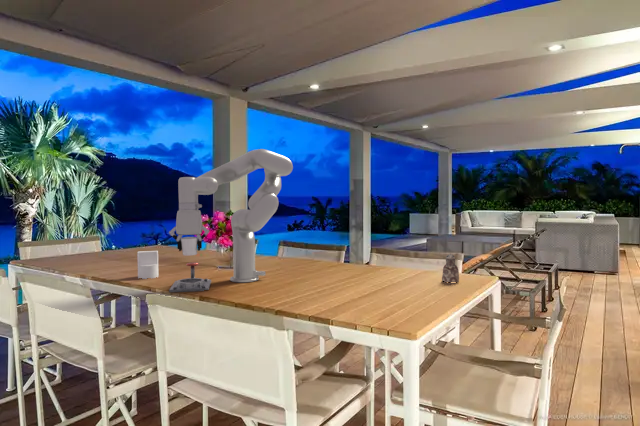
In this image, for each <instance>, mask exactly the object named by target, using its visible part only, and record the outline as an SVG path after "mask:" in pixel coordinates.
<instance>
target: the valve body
mask: <svg viewBox="0 0 640 426" xmlns="http://www.w3.org/2000/svg"><path fill="white" fill-rule="evenodd" d="M185 265H186V266H187V267H190V277H187V278H182V279H178V280H174V282H173V284H172V285H171V287H170V288H169V289H168V293H187V292H188V293H189V292H205V291H204V290H209V289H210V287H211V283H212V279H208V278H201V277H200V278H199V277H195V275H196V274H195V267H197V266H199V265H200V264H199V262H187V263H186V264H185Z"/></svg>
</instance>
